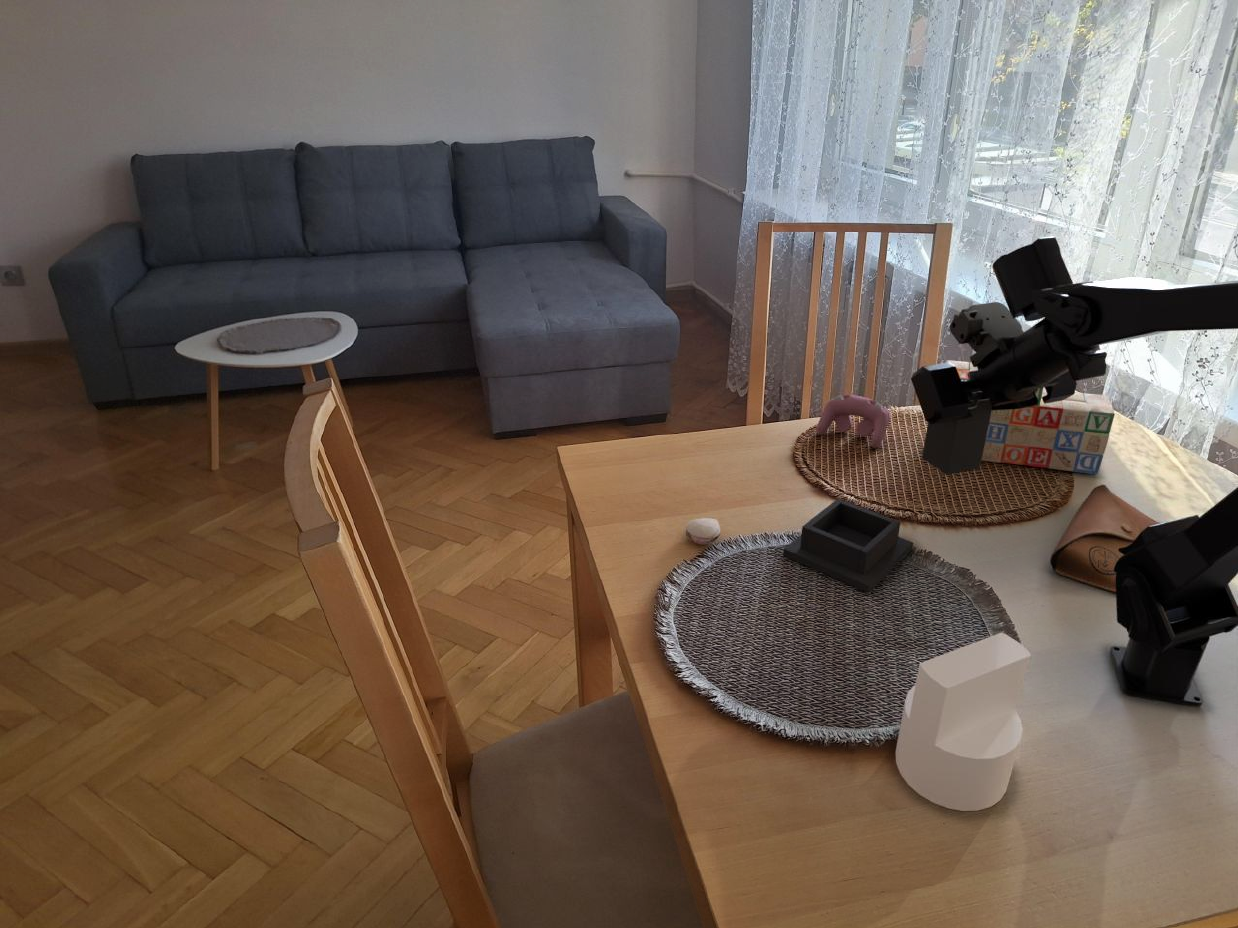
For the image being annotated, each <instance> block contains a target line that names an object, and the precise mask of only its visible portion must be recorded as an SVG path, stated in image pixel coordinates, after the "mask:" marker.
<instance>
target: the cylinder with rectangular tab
mask: <svg viewBox="0 0 1238 928" xmlns="http://www.w3.org/2000/svg"><path fill="white" fill-rule="evenodd" d="M1031 657H1032V654H1031V653H1030V652H1029V650H1028V649H1026V647H1025V646H1023V645H1022V643H1020V642H1019V641H1017V640H1016V639H1014V638H1012V637H1011V636H1010V635H1007V634H1006V633H1004V632H1000V633H996V634H994V635H992V636H988V637H986V638H983V639H981V640H978V641H975V642H972V643H969V644H967V645H965V646H962V647H959V648H957V649H955V650H951V651H949V652H946V653H944V654H941V655H938V656H936V657H933V658H929V659H928V660H925V661H923V662H919V666H918V670H917V675H916V679H915V684H914V685H913V686H912V687H911V688H910V689H909V690H908V692H907V693H906V698H905V700H904V704H903V709H902V714H901V719H900V726H899V731H898V736H897V742H896V748H895V764H896V767H897V769H898V772H899V774H900V776H901V777H902V778H903V779H904V781H905V783H906V784H907V785H908V786H909V787H910V788H911V789H912V790H913V791H915V792H916V793H917V794H918V795H919V796H920V797H922V798H924V799H926V800H927V801H929V802H931V803H932V804H935V805H937V806H941V807H943V808H946V809H948V810H949V809H950V810H956V811H962V812H974V811H975V812H976V811H981V810H984V809H988V808H991V807H993V806H994V805H995V804H997V803H998V802H1000V801H1001V800H1002V798H1003V797H1004V795H1005V794H1006V792H1007V790H1008V786H1009V783H1010V779H1011V775H1012V772H1013V769H1014V765H1015V762H1016V758H1017V755H1018V751H1019V748H1020V744H1021V742H1022V741H1021V740H1022V735H1023V725H1022V721H1021V718H1020V716H1019V714H1018V713H1017V708H1018V704H1019V701H1020V697H1021V693H1022V690H1023V686H1024V683H1025V680H1026V676H1027V672H1028V669H1029V665H1030V661H1031Z"/></svg>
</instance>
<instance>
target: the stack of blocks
mask: <svg viewBox="0 0 1238 928" xmlns="http://www.w3.org/2000/svg"><path fill="white" fill-rule="evenodd" d="M947 362H949V363H950V364H952V365H954V366H956V368H957V371H958V374H959V377H960V379H961V380H963V379H969V378H968V375H967V373H968V372H970V371H975V370H978V368H977V367H973V365H972V362H969V361H960V360H949V359H947V360H945V363H947ZM975 380H976V379H975ZM1035 394H1036V396H1037V399H1038V404H1037V405H1036V406H1032V407H1026V408H1021V409H1010V410H992V412H991V417H990V421H989V426H988V431H987V436H986V441H985V445H984V450H983V455H982V460H981V462H982V461H983V462H991V463H1000V464H1001V463H1003V464H1011V465H1019V466H1029V467H1036V468H1042V469H1043V468H1044V469H1050V470H1051V469H1052V470H1057V471H1058V470H1059V471H1067V472H1074V473H1080V474H1081V473H1082V474H1088V475H1089V474H1090V475H1098V474H1099V471H1100V470H1101V469H1100V468H1101V465H1102V461H1103V458H1104V455H1105V452H1106V448H1107V446H1108V442H1109V439H1110V433H1111V429H1112V427H1113V422H1114V419H1115V415H1116V413H1115V410H1114V407H1113V405H1112V403H1111V400H1110V398H1109V395H1107V394H1098V393H1097V394H1095V393H1084V392H1079V391H1075V393H1074V395H1072V396H1070V397H1068V398H1066V399H1064V400H1062V401H1057V402H1051V403H1046V404H1045V403H1044V402H1043V399H1042V397H1044V396H1045V395H1047V392H1046V390H1045V387H1043V388H1038V390H1037V391H1036V392H1035Z"/></svg>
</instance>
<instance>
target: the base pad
mask: <svg viewBox="0 0 1238 928" xmlns="http://www.w3.org/2000/svg"><path fill="white" fill-rule="evenodd" d="M900 529H901V521H899V520H896V519H894V518H892V517H889V516H886V515H883V514H881V513H878V512H875V511H873V510H870V509H867V508H864V507H862V506H859V505H857V504H854V503H851V502H848V501H846V500H844V499H840V498H836V499H835V500H834V501H833V502H831V503H830V504H829V505H828V506H826V507H825V508H824V509H823V510H821V511H820V512H819V513H818V514H816V515H815V516H814V517H813V518H811V519H810V520H809V521H807V522H806V523H805V524H803V525H802V526H801V534H800V535H799V536H798V537H797V538H795V539H794V540H792V541H791V542H790V543H789V544H788V545H786V546H785V547H784V548H783V550H782V551H783V553H782V556H783V557H786V558H788V559H790V560H792V561H794V562H797V563H798V564H800V565H801V564H802V565H804V566H806V567H808V568H811V569H813V570H815V571H818V572H820V573H821V574H824V575H827V576H829V577H831V578H833V579H836V580H838V581H840V582H843V583H845V584H847V585H850V586H851V587H854V588H856V589H858V590H860V591H862V592H865V593H869V592H871V590H873V588H874V587H875V586H877V585H878V584H879V583H880V582H881V581H882V580H883V579H884V578H885V577H886V576H887V575H888V574H889V573H890V572H891V571H892V570H893V569H894V568H895V567H896V566H897V565H898V564H899V563H901V562H902V560H903V559H904V558H905V557H906V556H907V555H908V554H909V553H910V552H911V551H912V550H913V548H914V541H911V540H909V539H907V538H903V537H902V536H899V535H900Z"/></svg>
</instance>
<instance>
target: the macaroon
mask: <svg viewBox="0 0 1238 928" xmlns="http://www.w3.org/2000/svg"><path fill="white" fill-rule="evenodd" d="M684 528H685V536H686V537H687V538H688V539H689V540H690V541H691V542H693V543H695V544H698V545H702V546H703V545H710V544H714V543H716V542H717V541H718V539H719V537H720V536H721V526H720V523H719V522H718V520H717V519H716V518H709V517H702V518H697V519H692V520H689V521H688V522H687V523H686V525H685V527H684Z"/></svg>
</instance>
